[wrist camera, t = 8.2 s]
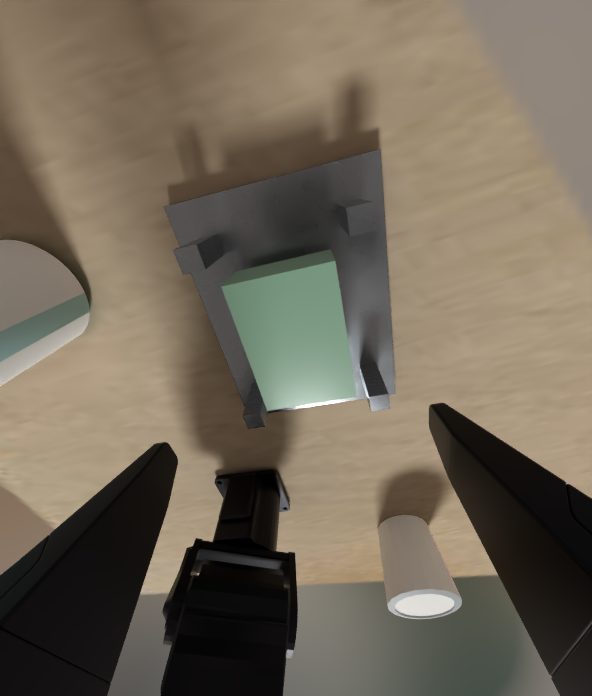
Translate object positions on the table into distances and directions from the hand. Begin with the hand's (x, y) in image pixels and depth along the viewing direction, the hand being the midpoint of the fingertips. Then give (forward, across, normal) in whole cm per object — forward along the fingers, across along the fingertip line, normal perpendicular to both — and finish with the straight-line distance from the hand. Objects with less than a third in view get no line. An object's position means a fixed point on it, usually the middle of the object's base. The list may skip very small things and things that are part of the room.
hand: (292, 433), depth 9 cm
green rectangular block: (+9, 0, 0) cm, 9 cm away
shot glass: (+12, -6, +29) cm, 32 cm away
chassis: (+11, 0, 0) cm, 11 cm away
